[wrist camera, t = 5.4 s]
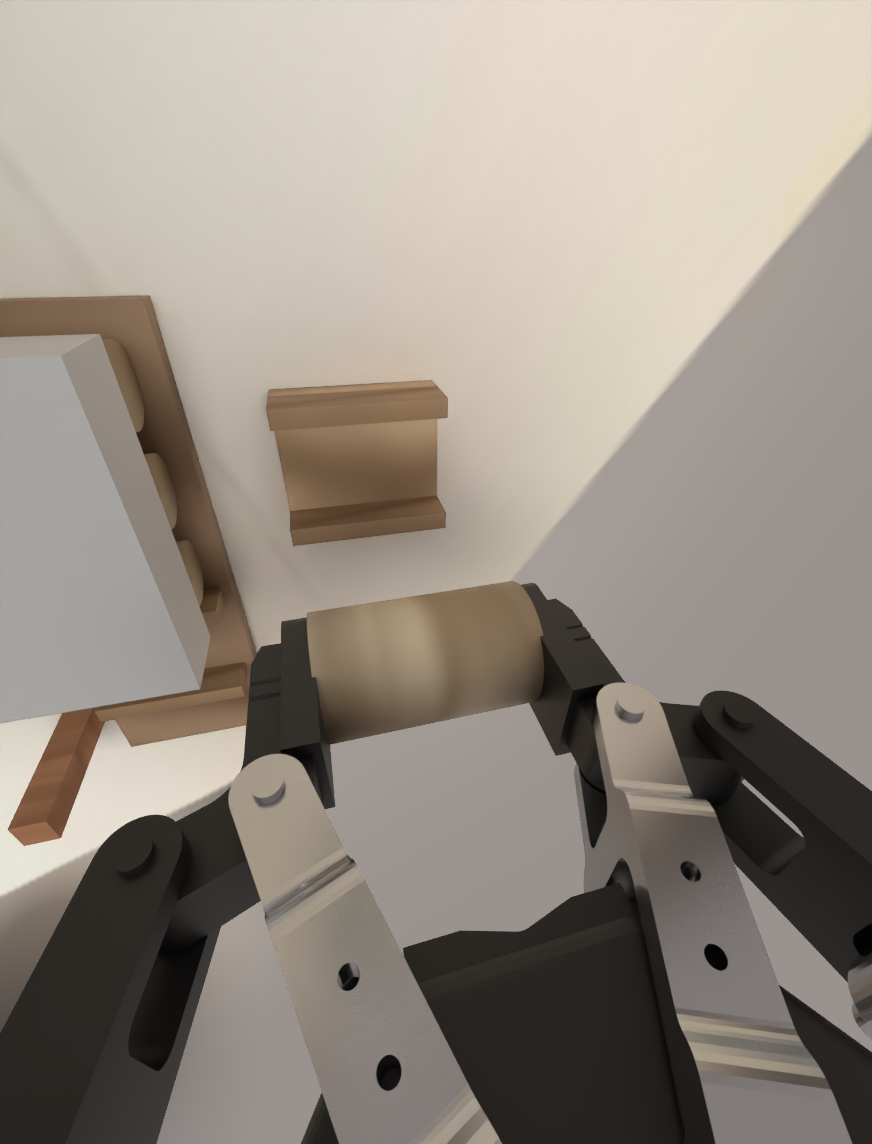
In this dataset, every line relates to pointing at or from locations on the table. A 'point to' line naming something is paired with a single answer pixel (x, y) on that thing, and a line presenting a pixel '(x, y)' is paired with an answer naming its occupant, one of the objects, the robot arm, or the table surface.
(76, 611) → the slab
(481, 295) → the table surface
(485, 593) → the dowel
